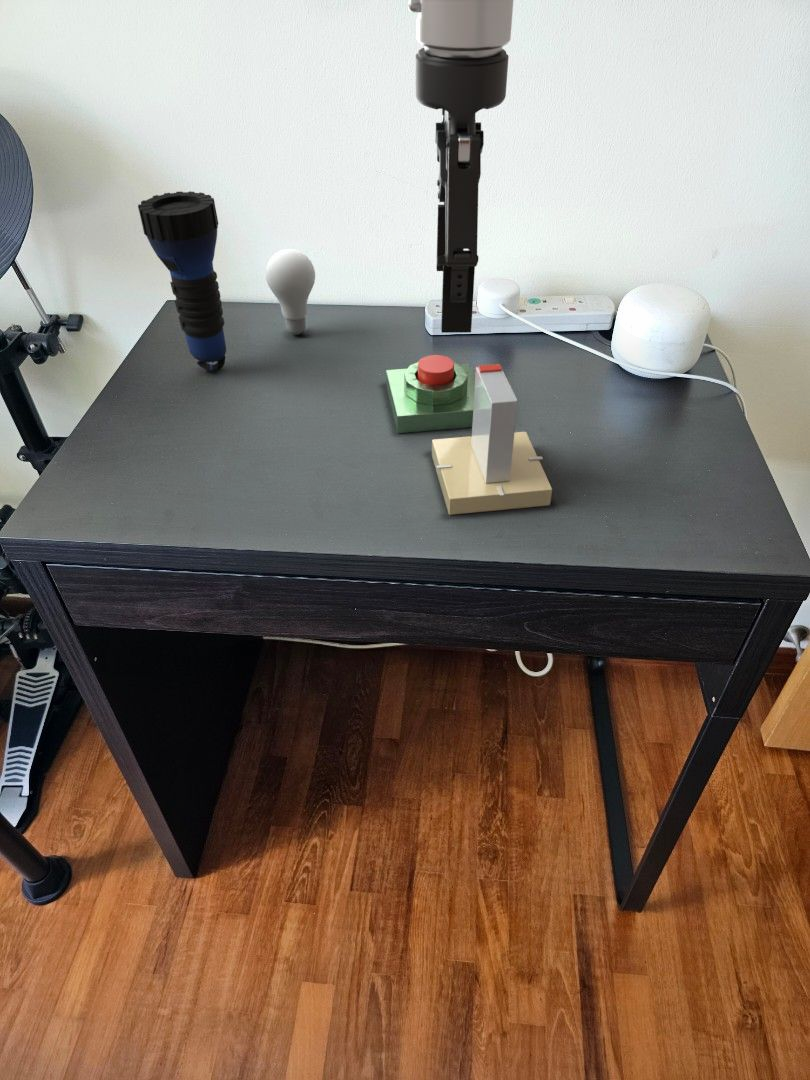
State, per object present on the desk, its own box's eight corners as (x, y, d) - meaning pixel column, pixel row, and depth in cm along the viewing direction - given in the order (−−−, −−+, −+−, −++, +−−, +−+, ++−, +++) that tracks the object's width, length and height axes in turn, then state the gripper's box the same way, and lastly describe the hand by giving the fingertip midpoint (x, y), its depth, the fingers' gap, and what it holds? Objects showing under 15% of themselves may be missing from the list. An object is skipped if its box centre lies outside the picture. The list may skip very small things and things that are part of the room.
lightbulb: (266, 342, 102) (255, 258, 95) (282, 321, 106) (272, 239, 99) (311, 347, 101) (304, 262, 94) (325, 325, 105) (319, 243, 98)
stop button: (456, 385, 87) (457, 371, 85) (420, 388, 86) (420, 374, 85) (450, 367, 90) (450, 353, 88) (415, 370, 89) (415, 356, 88)
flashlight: (177, 357, 99) (140, 191, 86) (241, 352, 100) (214, 187, 87) (174, 390, 93) (134, 217, 80) (242, 384, 94) (213, 212, 81)
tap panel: (554, 507, 76) (557, 489, 75) (445, 517, 75) (446, 500, 74) (526, 444, 84) (528, 427, 83) (427, 453, 83) (428, 436, 82)
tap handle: (509, 481, 76) (518, 398, 70) (485, 483, 76) (491, 400, 70) (493, 443, 81) (500, 362, 75) (470, 445, 81) (475, 364, 75)
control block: (487, 426, 87) (489, 394, 84) (397, 433, 86) (397, 401, 83) (469, 379, 94) (470, 349, 92) (386, 386, 93) (385, 356, 91)
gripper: (413, 20, 73) (413, 248, 87) (418, 84, 54) (416, 361, 68) (495, 19, 73) (481, 248, 87) (527, 84, 54) (502, 361, 68)
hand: (452, 298), depth 78 cm, fingers open, 13 cm apart
